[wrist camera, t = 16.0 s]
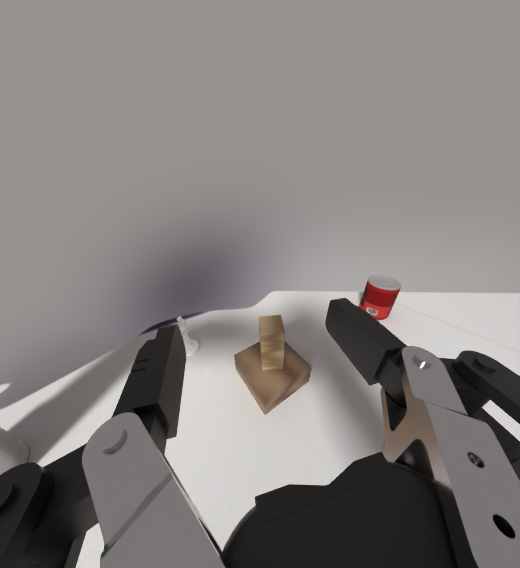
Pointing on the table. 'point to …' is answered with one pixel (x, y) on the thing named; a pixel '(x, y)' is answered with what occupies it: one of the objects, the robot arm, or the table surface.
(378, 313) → the canned food
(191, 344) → the chess piece
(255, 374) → the walnut block
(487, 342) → the table surface
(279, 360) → the oak block
